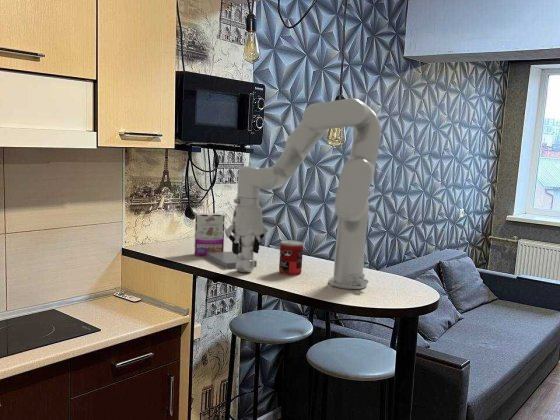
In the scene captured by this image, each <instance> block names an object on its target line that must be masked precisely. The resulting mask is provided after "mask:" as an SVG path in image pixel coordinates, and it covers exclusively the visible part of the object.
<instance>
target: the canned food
mask: <svg viewBox="0 0 560 420" xmlns="http://www.w3.org/2000/svg"><path fill="white" fill-rule="evenodd" d="M279 244H280V245H279V247H280V248H279V260H278V261H279V265H278V266H279V267H278V272H279V274H281V275H286V276H299V275H301V274H302V270H303V269H302V268H303V255H304V243H303V242H302V241H300V240H299V241H298V240H291V239H290V240H288V239H286V240H281V241H280V243H279Z"/></svg>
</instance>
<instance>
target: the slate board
mask: <svg viewBox="0 0 560 420" xmlns="http://www.w3.org/2000/svg"><path fill="white" fill-rule="evenodd" d="M206 259H207V260H210V261H211V262H213V263H214V264H217V265H219V266H220V265H221V267H222V266H223V268H225V269H229V270H230V269H236V266H235V264H236V259H237V255H236V254H234V253H233V251H232V250H231V251H223V252H214V253H207V256H206ZM257 264H258V261H257V260H255V259H254V268H255V267H258V265H257Z"/></svg>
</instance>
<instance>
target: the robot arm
mask: <svg viewBox="0 0 560 420" xmlns="http://www.w3.org/2000/svg"><path fill="white" fill-rule="evenodd" d="M301 117H302V120H301V121H300V122H299V124H298V125H297V126H296V127H295V129H294V130H293V131H292V132H291V133H290V134H289V135H288V137H287V139H286V141H285V145H284V149H283V151H282V153H281V155H280V156H279V158H278V159H277V160H276V161H275V162H274V164H273V165H271V166H269V167H259V166H252V165H251V166H249V165H245V166H244V165H242V166H240V167H239V168H238V177H237V196H236V198H234V200H233V203H234V204H236V205H235V206H234V210H233V214H232V220H231V225H230V226H229V227H228V228H227V229H226V230H225V229H224V235H226V236H227V238H228V239H229V240H230V242H232V243H231V251H233V253H234V254H236V255H238V252H239V243H238V240H239V238H240V236H246V235H247V231H248V230H249V229H250V228H251V229H253V230H254V234H253V235H254V236H255V240H254V246H253V247H254V248H253V253H254V254H259V250H260V242H262V240H263V238H265V235H266V234H267V233H268V229H267V228H266V227H265V226H264V225H263V224H264V223H263V221H264V219H263V212H262V207H261V206H260V189H261V190H266V191H272V190H275V189H279V188H281V187H283V186H284V185H285V184H286V183H287V182H288V181H289V180H290V178H291V177H292V176H293V175H294V173H295V172H296V171H297V170H298V168H299V167H300V166H301V164H302V163H303V161H304V160H305V159H306V158H307V155H308V154H309V153H310V152H311V150H313V148H314V147H315V146H316V145H317V143H318V142H319V141H320V140H321V139H322V138H323V136H324V135H325V134H326V133H327V132H328V130H333V129H335V130H336V129H340V128H350V127H351V128H352V129H353V131H354V133H353V134H354V135H353V139H352V144H351V150H350V154H349V158H348V160H346V161H345V163H344V164H343V165H342V168H341V170H340V171H341V172H340V175H339V180H338V185H337V190H336V196H335V200H334V211H335V214H336V215H337V217H338V219H337V227H336V228H337V229H336V238H335V239H336V241H335V252H334V253H335V255H334V264H333V265H334V267H333V276H332V277H330V278H328V284H329V285H330V286H332V287H336V288H339V289H345V290H346V289H347V290H361V289H365V288H366V287H367V286H368V284H369V279H366V278H365V276H366V274H365V273H364V264H365V252H366V239H367V238H366V237H367V229H368V227H367V226H368V219H369V212H370V211H369V210H370V203H369V199H368V196H369V192H370V187H371V182H372V180H373V179H374V176H375V172H376V164H377V159H378V155H379V148H380V142H381V137H382V127H381V122H380V120H379V118H378V115H377V113H376V112H375V111H374V110H373V109H372V108H370V107H369V105H367V104H366V103H365V102H364V101H361V100H359V99H357V98H345V99H337V100H331V101H325V102H317V103H311V104H309V105H308V106H307V107H305V110H303V113H302V116H301Z"/></svg>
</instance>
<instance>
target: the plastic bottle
mask: <svg viewBox="0 0 560 420" xmlns="http://www.w3.org/2000/svg"><path fill="white" fill-rule="evenodd" d="M253 234H254V230H253V229H251V228H250V229H249V230H248V231H247V235H246V236H240V238H239V240H238V243H239V252H238V255H237V259H236V264H235V266H236V268H235V269H236V271H237V272H241V273H250V272H252V271H254V268H255V267H254V260H255V259H254V252H253V248H254V247H253V246H254V240H255V236H254V235H253Z"/></svg>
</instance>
